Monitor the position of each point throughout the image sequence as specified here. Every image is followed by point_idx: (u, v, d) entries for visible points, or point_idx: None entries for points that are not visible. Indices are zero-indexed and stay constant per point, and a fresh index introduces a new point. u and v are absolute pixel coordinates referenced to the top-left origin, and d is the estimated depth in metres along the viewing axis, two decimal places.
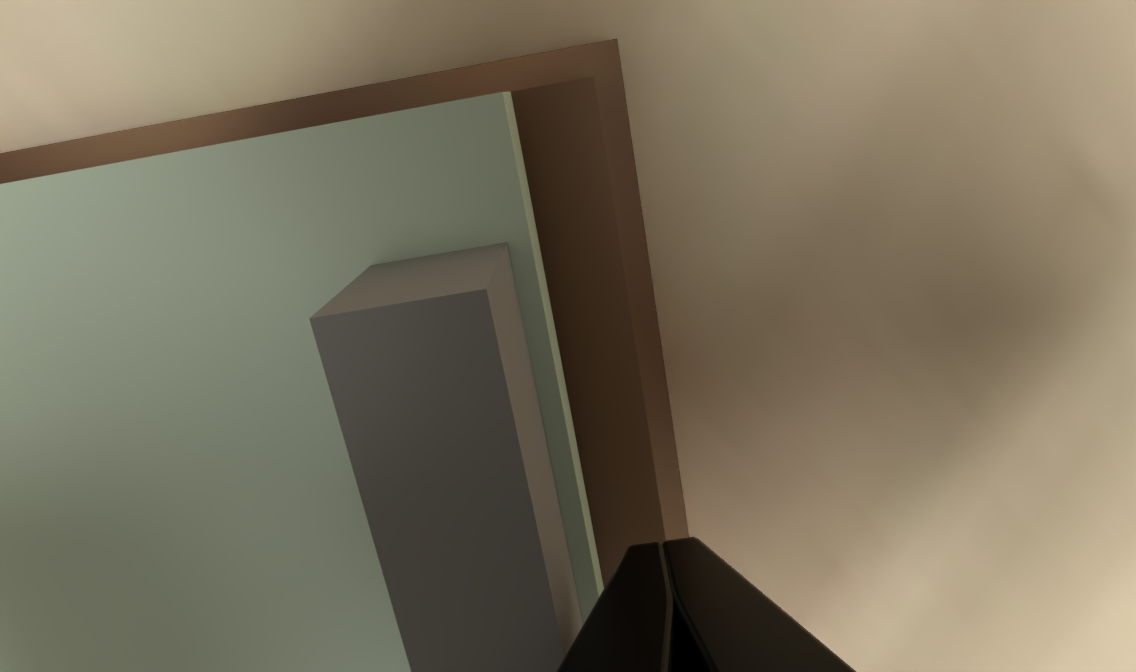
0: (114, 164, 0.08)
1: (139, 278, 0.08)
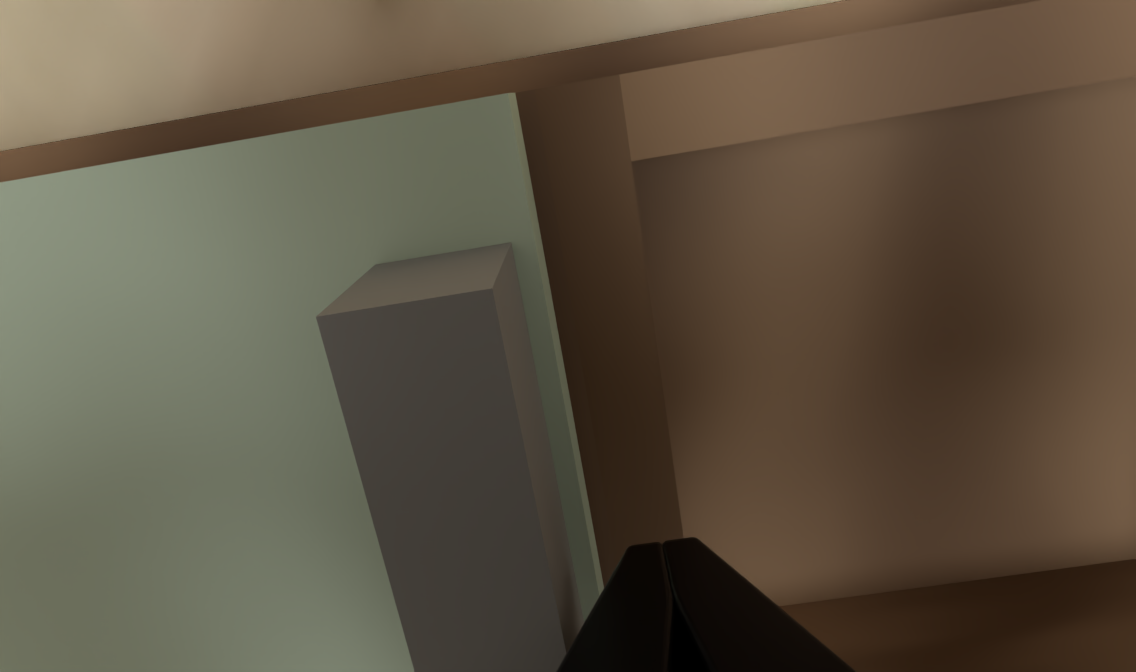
0: (121, 162, 0.08)
1: (144, 276, 0.08)
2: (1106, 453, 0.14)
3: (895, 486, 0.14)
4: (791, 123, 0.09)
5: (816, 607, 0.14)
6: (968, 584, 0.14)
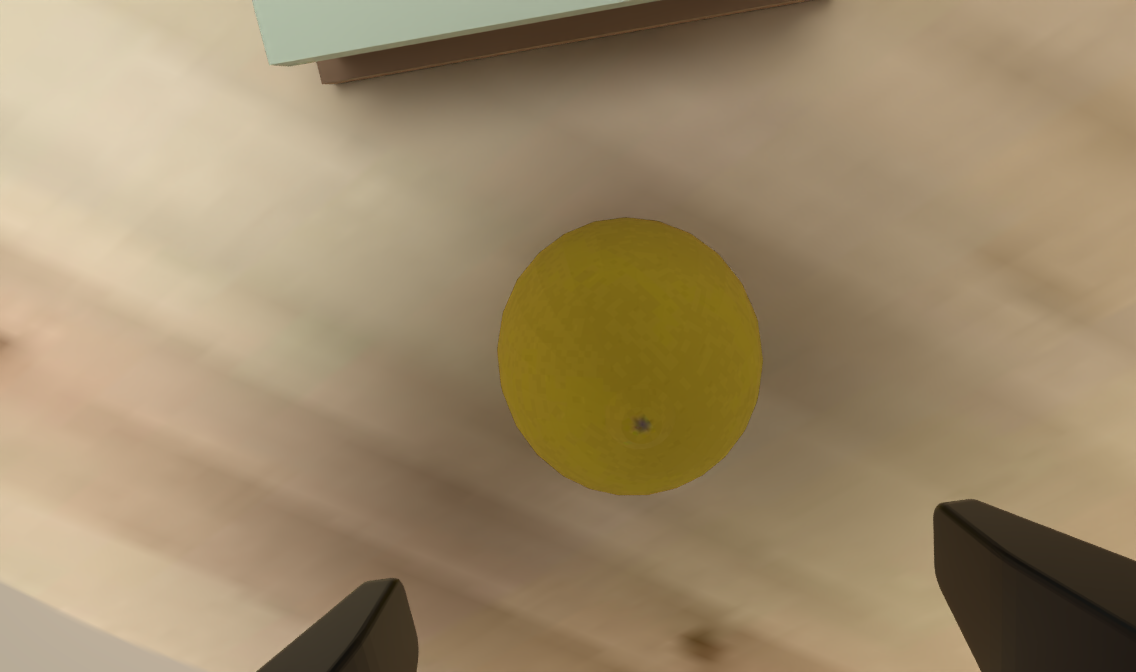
0: None
1: None
2: None
3: None
4: None
5: None
6: None
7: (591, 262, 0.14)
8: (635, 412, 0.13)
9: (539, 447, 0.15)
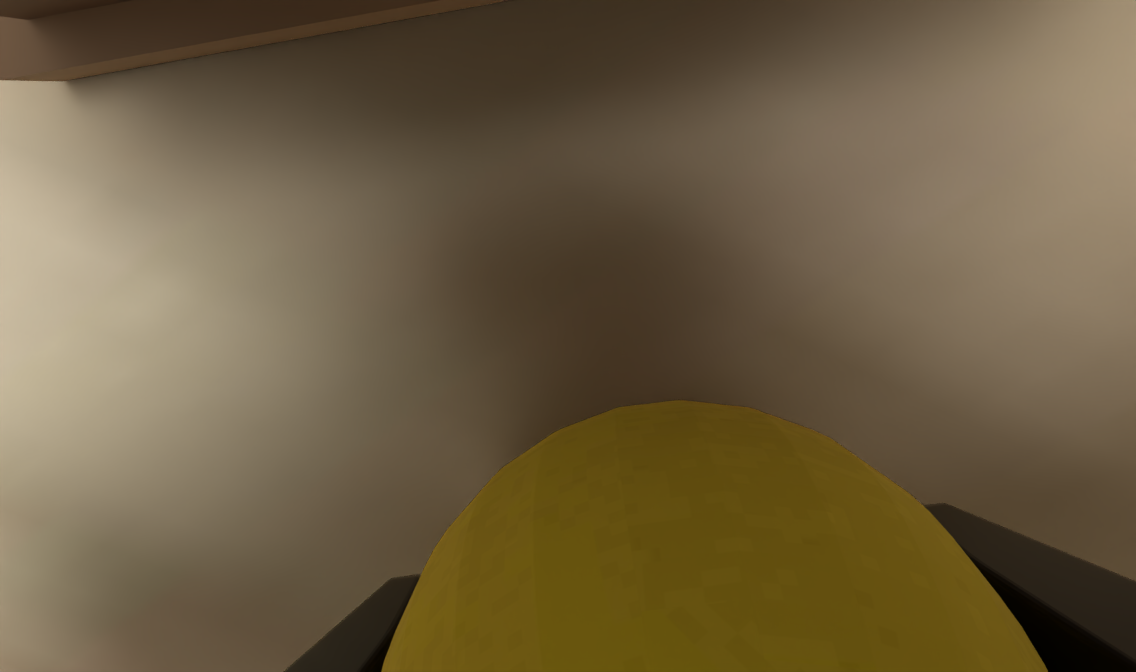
0: None
1: None
2: None
3: None
4: None
5: None
6: None
7: None
8: None
9: None
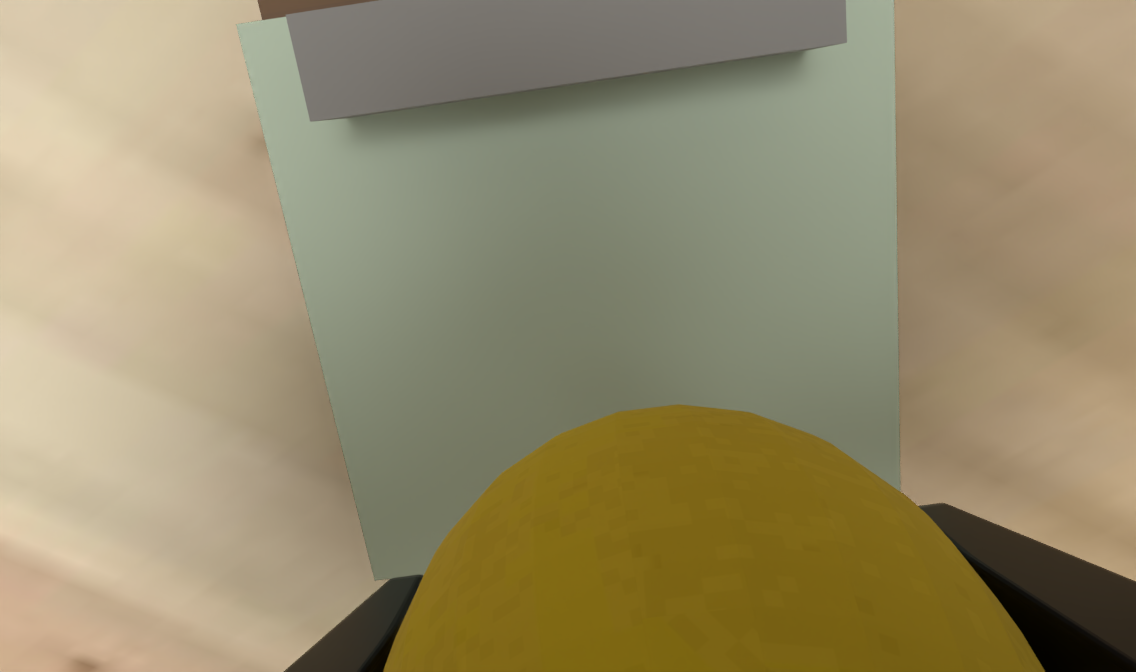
0: (297, 262, 0.14)
1: (362, 260, 0.14)
2: None
3: None
4: None
5: None
6: None
7: None
8: None
9: None
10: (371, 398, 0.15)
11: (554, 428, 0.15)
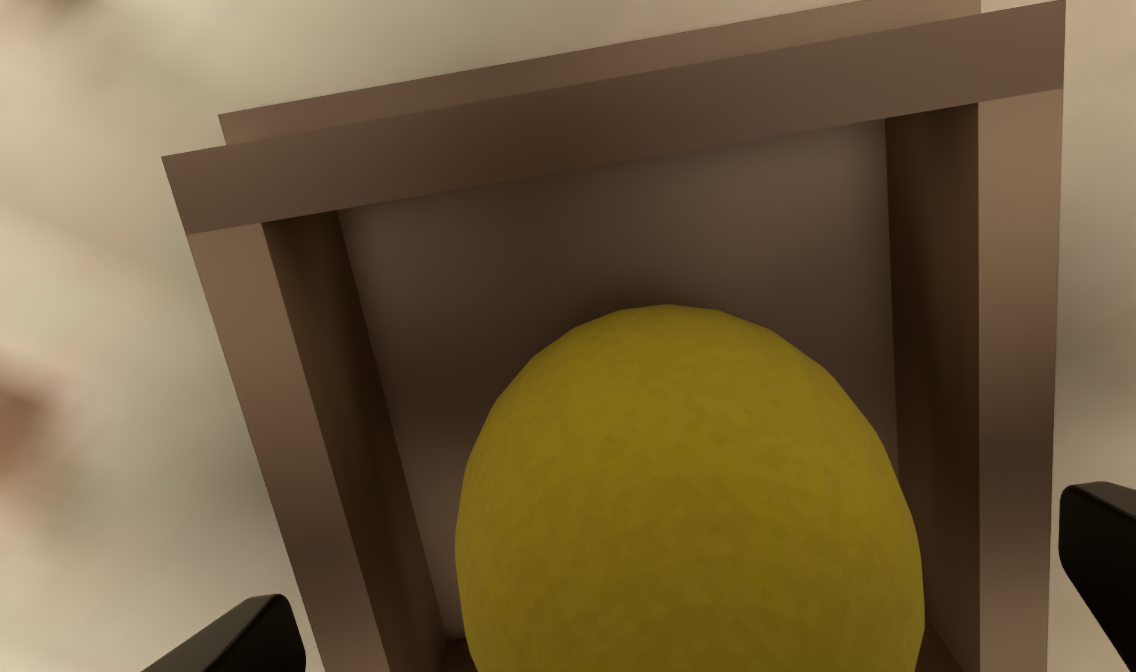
0: None
1: None
2: (745, 201, 0.13)
3: None
4: None
5: (901, 472, 0.14)
6: (895, 322, 0.13)
7: (621, 417, 0.08)
8: None
9: None
10: None
11: None
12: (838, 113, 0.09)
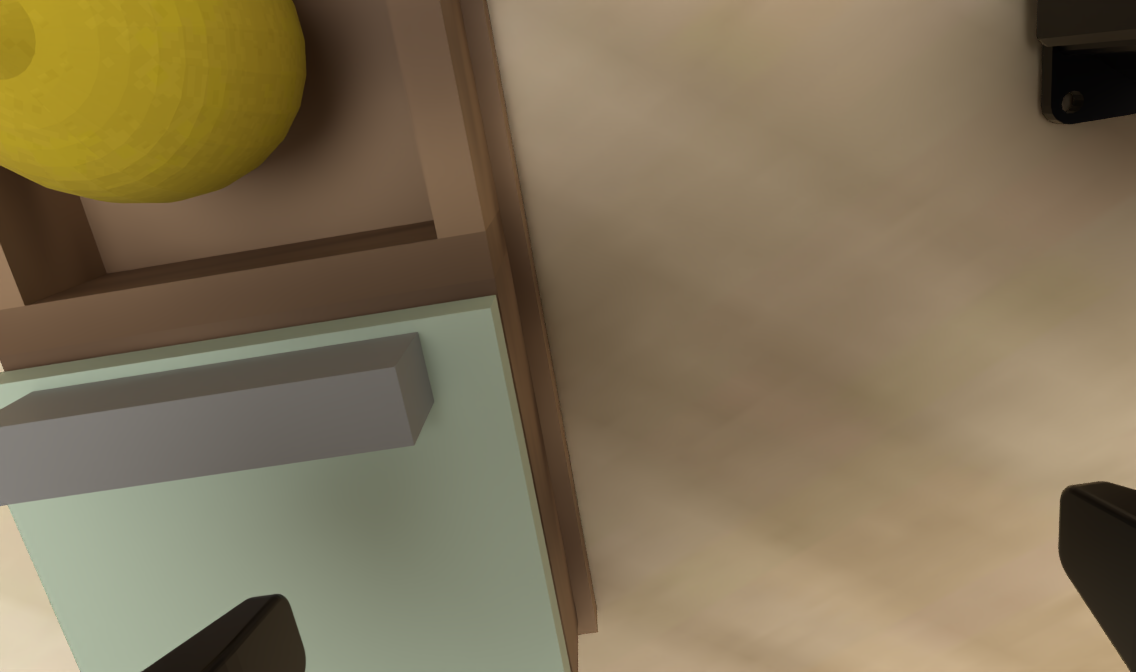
0: (35, 563, 0.17)
1: (88, 562, 0.17)
2: None
3: (326, 56, 0.18)
4: None
5: None
6: None
7: None
8: None
9: None
10: (112, 664, 0.18)
11: None
12: None
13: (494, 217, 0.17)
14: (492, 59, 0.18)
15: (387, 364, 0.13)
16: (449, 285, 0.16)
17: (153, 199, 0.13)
